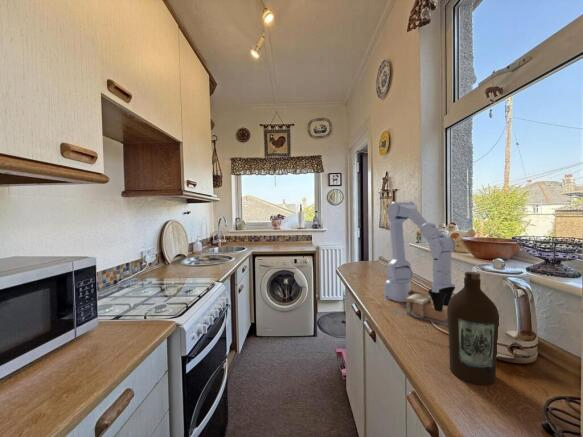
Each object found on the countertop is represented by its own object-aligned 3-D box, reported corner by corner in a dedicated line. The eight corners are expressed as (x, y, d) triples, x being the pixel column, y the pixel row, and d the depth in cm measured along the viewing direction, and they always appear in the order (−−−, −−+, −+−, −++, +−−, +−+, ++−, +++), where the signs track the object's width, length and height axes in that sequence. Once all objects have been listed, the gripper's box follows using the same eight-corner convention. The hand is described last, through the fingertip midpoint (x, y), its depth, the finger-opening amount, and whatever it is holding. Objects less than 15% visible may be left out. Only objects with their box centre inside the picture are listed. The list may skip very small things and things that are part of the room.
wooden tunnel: (406, 313, 104) (406, 298, 104) (415, 308, 110) (415, 293, 110) (423, 318, 100) (423, 301, 100) (431, 311, 106) (431, 296, 105)
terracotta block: (412, 313, 105) (412, 302, 104) (416, 310, 107) (417, 300, 107) (444, 321, 97) (444, 310, 97) (448, 318, 99) (448, 307, 99)
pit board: (392, 314, 107) (392, 311, 107) (403, 307, 114) (403, 304, 114) (453, 330, 92) (453, 326, 92) (461, 321, 99) (461, 318, 99)
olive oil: (444, 358, 75) (444, 267, 74) (490, 366, 71) (491, 269, 70) (450, 381, 65) (451, 276, 64) (505, 391, 61) (506, 279, 60)
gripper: (447, 275, 91) (447, 316, 91) (460, 268, 101) (460, 305, 101) (425, 272, 96) (425, 311, 96) (439, 266, 106) (439, 301, 106)
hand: (442, 308), depth 99 cm, fingers open, 7 cm apart
